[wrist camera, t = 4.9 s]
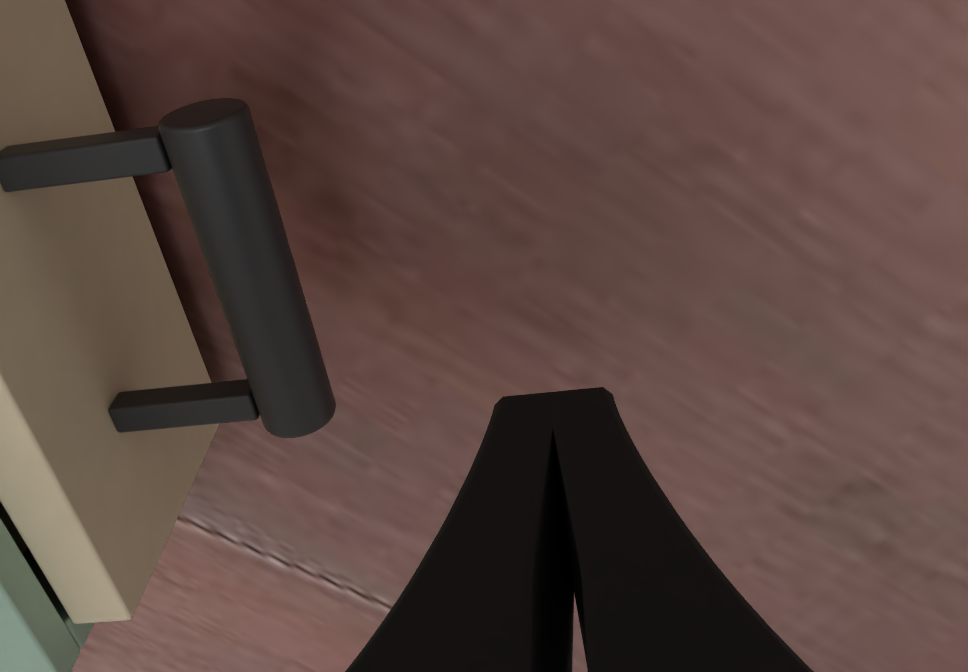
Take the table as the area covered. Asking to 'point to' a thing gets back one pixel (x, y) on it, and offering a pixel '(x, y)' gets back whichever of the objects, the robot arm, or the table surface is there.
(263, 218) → the drawer
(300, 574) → the table surface
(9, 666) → the cabinet
